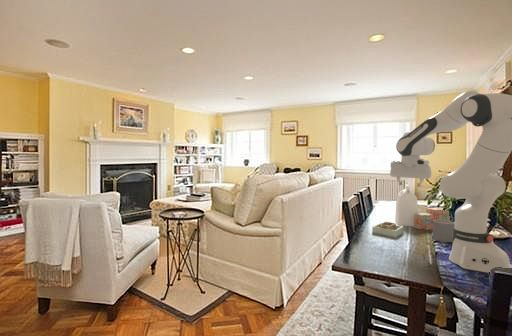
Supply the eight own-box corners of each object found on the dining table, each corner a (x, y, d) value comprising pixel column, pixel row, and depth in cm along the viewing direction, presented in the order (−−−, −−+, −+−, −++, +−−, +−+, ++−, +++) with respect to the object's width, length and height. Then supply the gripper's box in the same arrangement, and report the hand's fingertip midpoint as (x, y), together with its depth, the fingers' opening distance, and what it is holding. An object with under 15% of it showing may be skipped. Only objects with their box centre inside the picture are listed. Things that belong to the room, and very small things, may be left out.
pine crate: (395, 231, 167) (395, 223, 167) (390, 234, 161) (390, 226, 160) (385, 229, 171) (385, 221, 171) (379, 232, 165) (379, 224, 164)
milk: (417, 226, 181) (419, 186, 179) (398, 225, 184) (399, 185, 183) (413, 222, 192) (414, 184, 191) (395, 221, 196) (396, 183, 194)
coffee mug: (433, 241, 152) (434, 222, 151) (431, 236, 160) (432, 218, 160) (464, 244, 146) (465, 225, 145) (460, 239, 155) (460, 221, 154)
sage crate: (403, 233, 166) (403, 226, 166) (395, 237, 157) (395, 230, 157) (380, 229, 175) (380, 222, 175) (372, 233, 166) (372, 226, 166)
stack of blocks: (421, 230, 173) (421, 210, 173) (413, 227, 179) (414, 208, 179) (450, 228, 177) (451, 209, 177) (442, 225, 183) (443, 207, 183)
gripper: (388, 160, 161) (388, 184, 162) (429, 161, 147) (428, 187, 148) (392, 160, 165) (391, 183, 166) (432, 161, 151) (431, 186, 152)
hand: (409, 185), depth 157 cm, fingers open, 8 cm apart
